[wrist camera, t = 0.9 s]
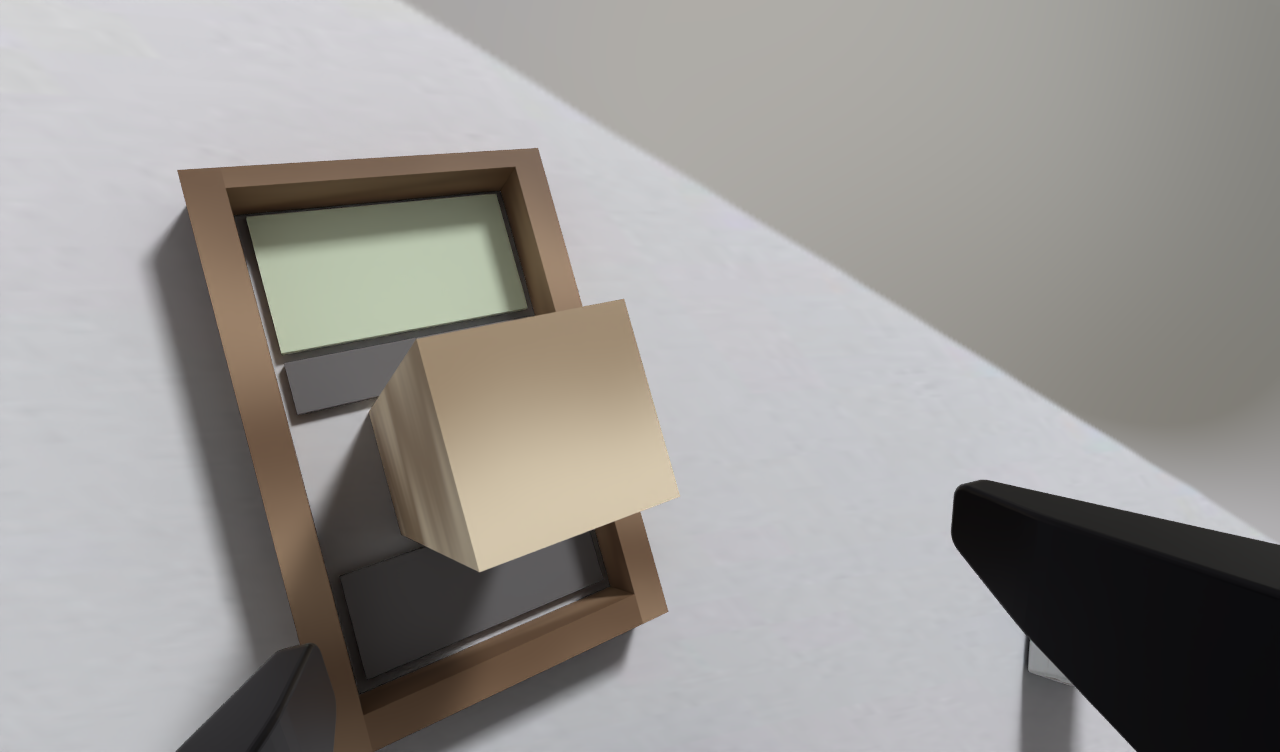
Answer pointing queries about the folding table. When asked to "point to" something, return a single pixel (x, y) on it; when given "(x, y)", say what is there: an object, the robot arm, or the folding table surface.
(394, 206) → the pad
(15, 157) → the folding table surface
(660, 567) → the folding table surface
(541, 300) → the brown rectangular frame
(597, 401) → the maple block
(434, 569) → the pads
